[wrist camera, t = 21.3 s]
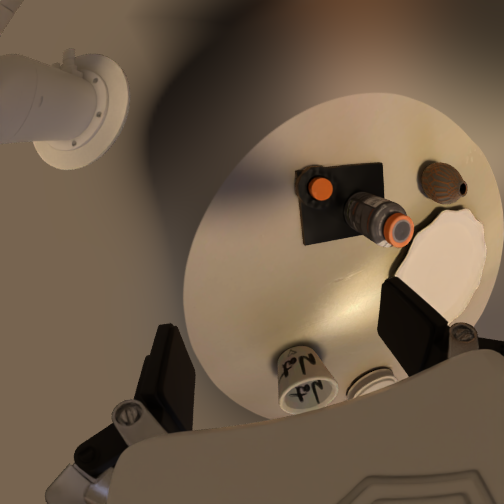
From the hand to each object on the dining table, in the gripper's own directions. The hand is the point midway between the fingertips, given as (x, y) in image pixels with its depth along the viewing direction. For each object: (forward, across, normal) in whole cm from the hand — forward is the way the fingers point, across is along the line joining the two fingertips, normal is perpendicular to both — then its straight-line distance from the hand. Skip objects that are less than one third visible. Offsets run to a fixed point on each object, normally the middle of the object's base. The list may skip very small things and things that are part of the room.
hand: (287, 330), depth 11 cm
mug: (+28, -6, +33) cm, 44 cm away
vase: (+28, -33, 0) cm, 43 cm away
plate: (+28, -38, +20) cm, 51 cm away
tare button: (+26, -11, -1) cm, 28 cm away
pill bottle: (+27, -17, +4) cm, 33 cm away
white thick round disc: (+28, -23, +47) cm, 59 cm away
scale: (+28, -15, +2) cm, 32 cm away
